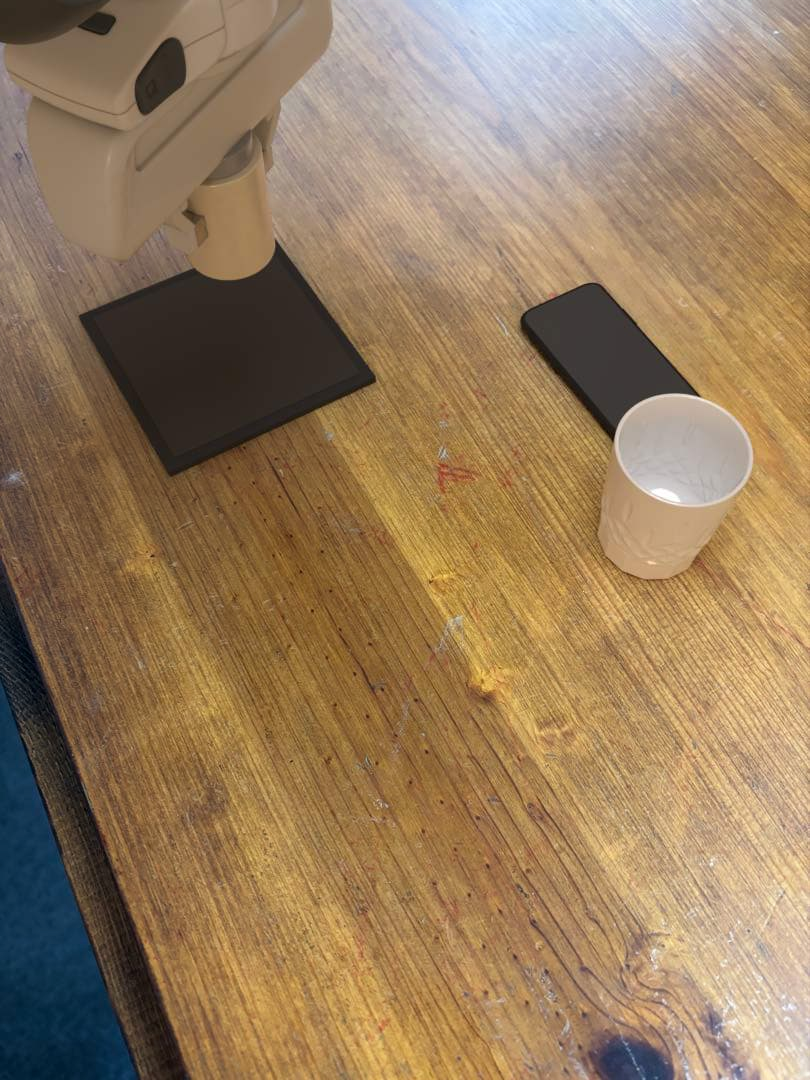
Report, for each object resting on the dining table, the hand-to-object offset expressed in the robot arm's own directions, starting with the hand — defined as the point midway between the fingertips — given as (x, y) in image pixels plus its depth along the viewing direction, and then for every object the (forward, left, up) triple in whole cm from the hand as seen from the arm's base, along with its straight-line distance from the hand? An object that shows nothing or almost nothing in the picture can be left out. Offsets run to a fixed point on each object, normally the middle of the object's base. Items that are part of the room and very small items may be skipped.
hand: (222, 207), depth 60 cm
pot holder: (0, +5, -17) cm, 18 cm away
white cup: (+17, -23, -18) cm, 34 cm away
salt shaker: (0, 0, -3) cm, 3 cm away
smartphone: (+23, -11, -17) cm, 31 cm away
